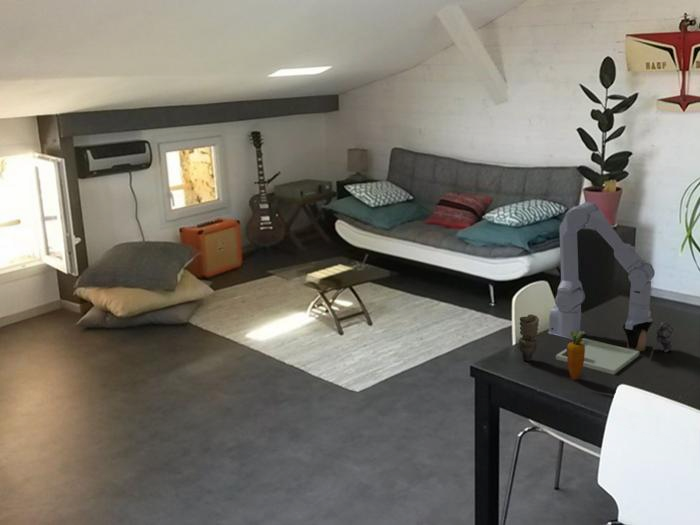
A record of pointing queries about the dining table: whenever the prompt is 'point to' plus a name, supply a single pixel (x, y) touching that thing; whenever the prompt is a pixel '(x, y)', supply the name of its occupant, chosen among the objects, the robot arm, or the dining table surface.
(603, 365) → the tray
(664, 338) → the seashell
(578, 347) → the carrot
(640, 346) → the tan cylinder
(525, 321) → the brown carved statue
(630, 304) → the robot arm
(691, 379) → the dining table surface
